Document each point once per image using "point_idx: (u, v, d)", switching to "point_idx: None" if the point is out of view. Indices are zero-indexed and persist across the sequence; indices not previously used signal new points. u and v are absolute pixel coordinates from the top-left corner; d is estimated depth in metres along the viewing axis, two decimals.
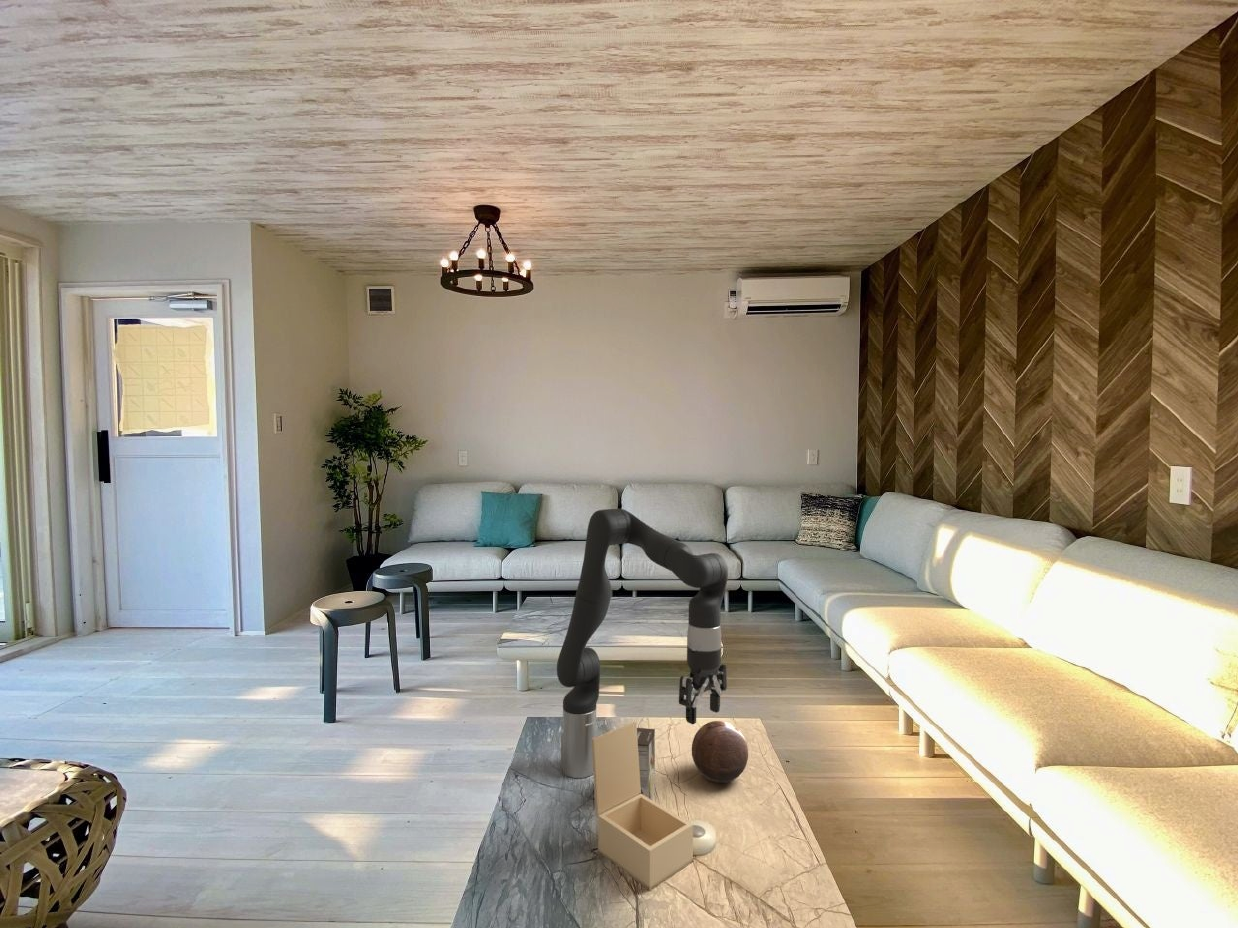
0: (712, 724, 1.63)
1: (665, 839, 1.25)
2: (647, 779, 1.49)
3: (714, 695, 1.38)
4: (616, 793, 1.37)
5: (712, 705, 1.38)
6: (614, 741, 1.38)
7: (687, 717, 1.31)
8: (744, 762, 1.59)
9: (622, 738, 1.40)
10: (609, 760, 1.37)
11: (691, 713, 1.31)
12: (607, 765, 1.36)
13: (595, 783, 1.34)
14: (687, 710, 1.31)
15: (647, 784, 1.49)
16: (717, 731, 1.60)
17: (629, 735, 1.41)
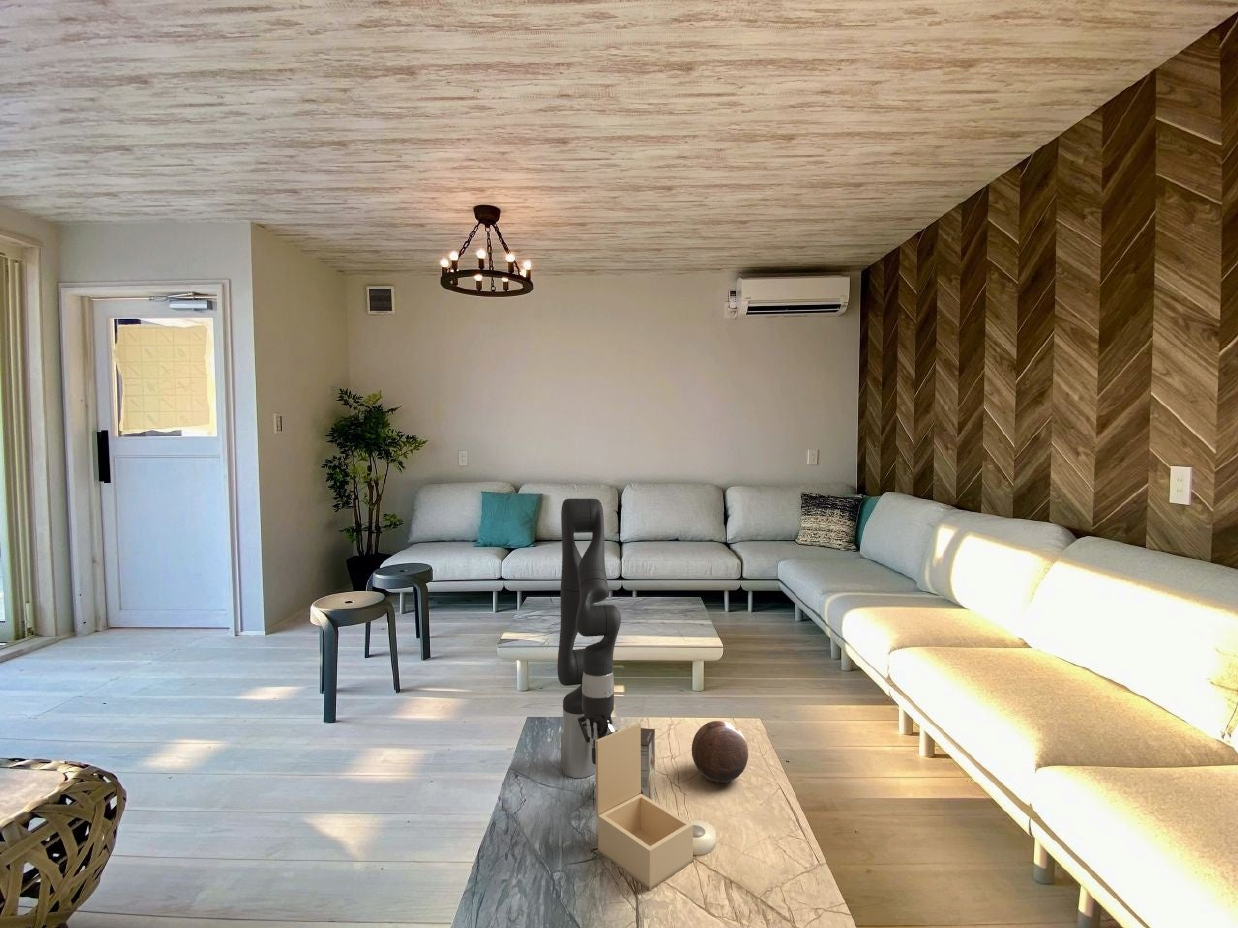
0: (712, 724, 1.63)
1: (665, 839, 1.25)
2: (647, 779, 1.49)
3: None
4: (617, 793, 1.37)
5: None
6: (618, 743, 1.37)
7: None
8: (744, 762, 1.59)
9: (626, 739, 1.39)
10: (612, 761, 1.36)
11: None
12: (609, 766, 1.35)
13: (597, 784, 1.33)
14: None
15: (647, 784, 1.49)
16: (717, 731, 1.60)
17: (633, 736, 1.40)
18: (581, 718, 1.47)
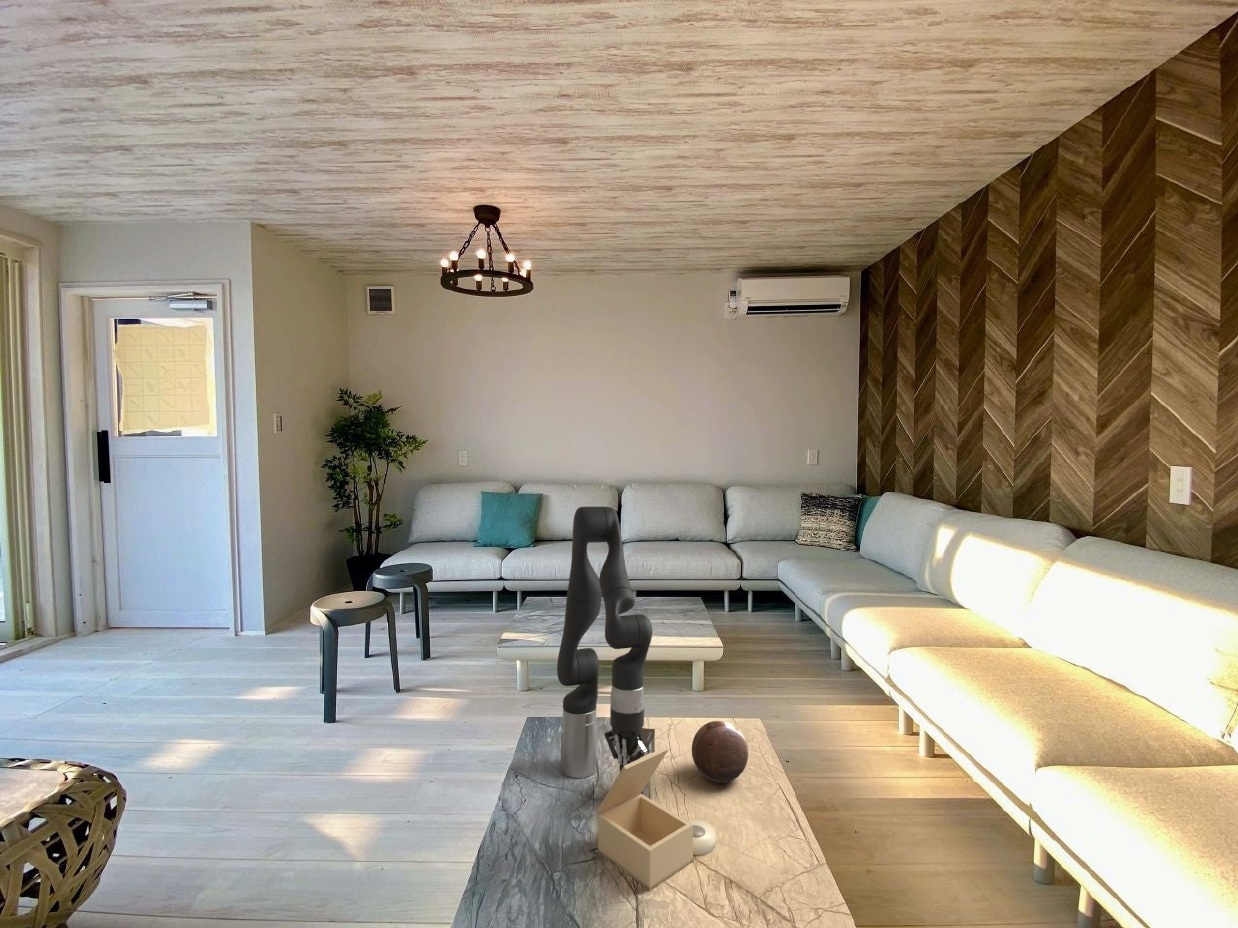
0: (712, 724, 1.63)
1: (665, 839, 1.25)
2: None
3: None
4: (621, 798, 1.36)
5: None
6: (642, 766, 1.31)
7: None
8: (744, 763, 1.59)
9: (650, 762, 1.33)
10: (629, 779, 1.32)
11: None
12: (625, 782, 1.32)
13: (608, 795, 1.31)
14: None
15: (647, 784, 1.49)
16: (717, 731, 1.60)
17: (657, 759, 1.34)
18: (608, 733, 1.39)
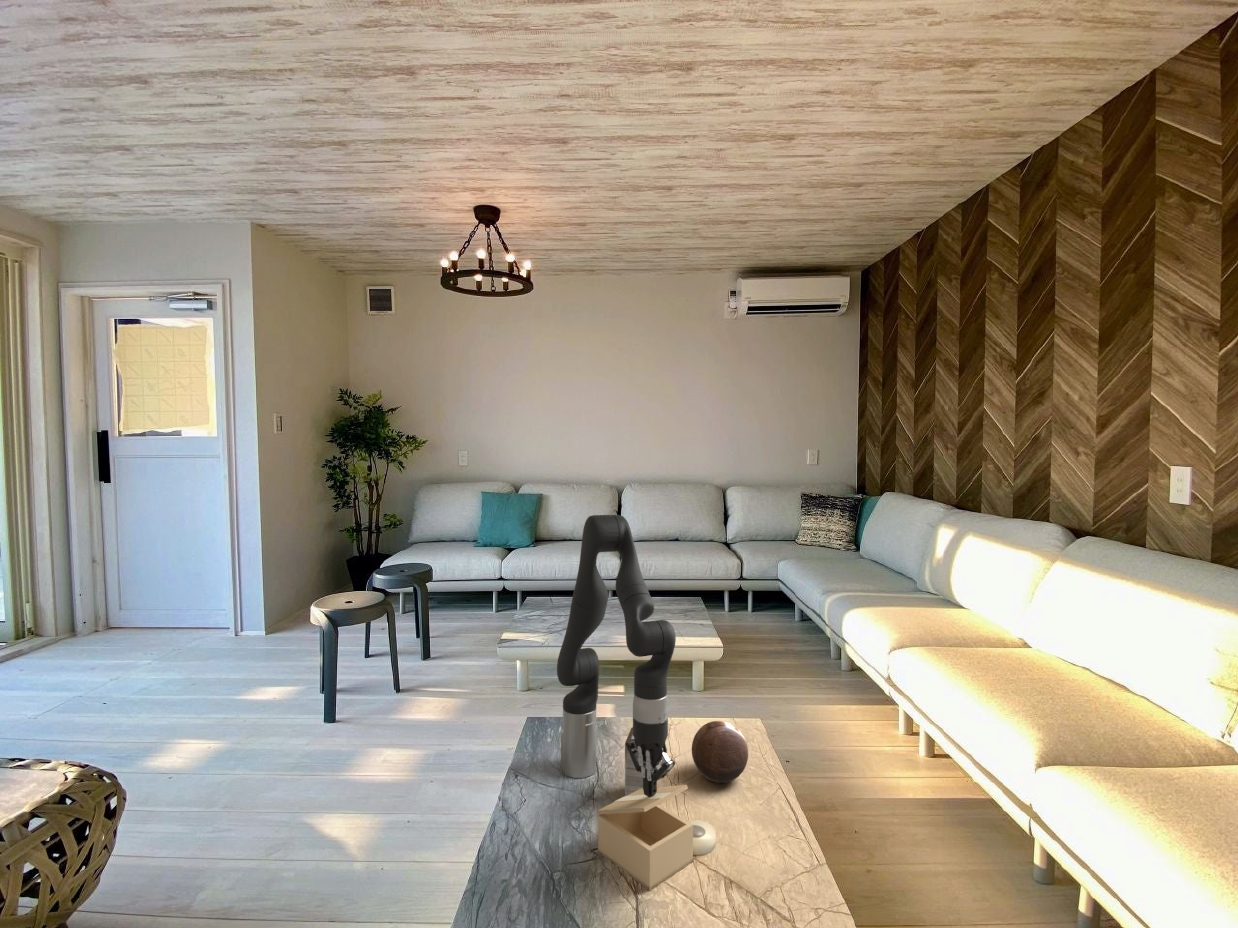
0: (712, 724, 1.63)
1: (665, 839, 1.25)
2: None
3: None
4: None
5: None
6: None
7: (653, 791, 1.29)
8: (744, 763, 1.59)
9: None
10: None
11: None
12: None
13: (615, 811, 1.29)
14: (653, 784, 1.29)
15: None
16: (717, 731, 1.60)
17: None
18: (630, 744, 1.34)
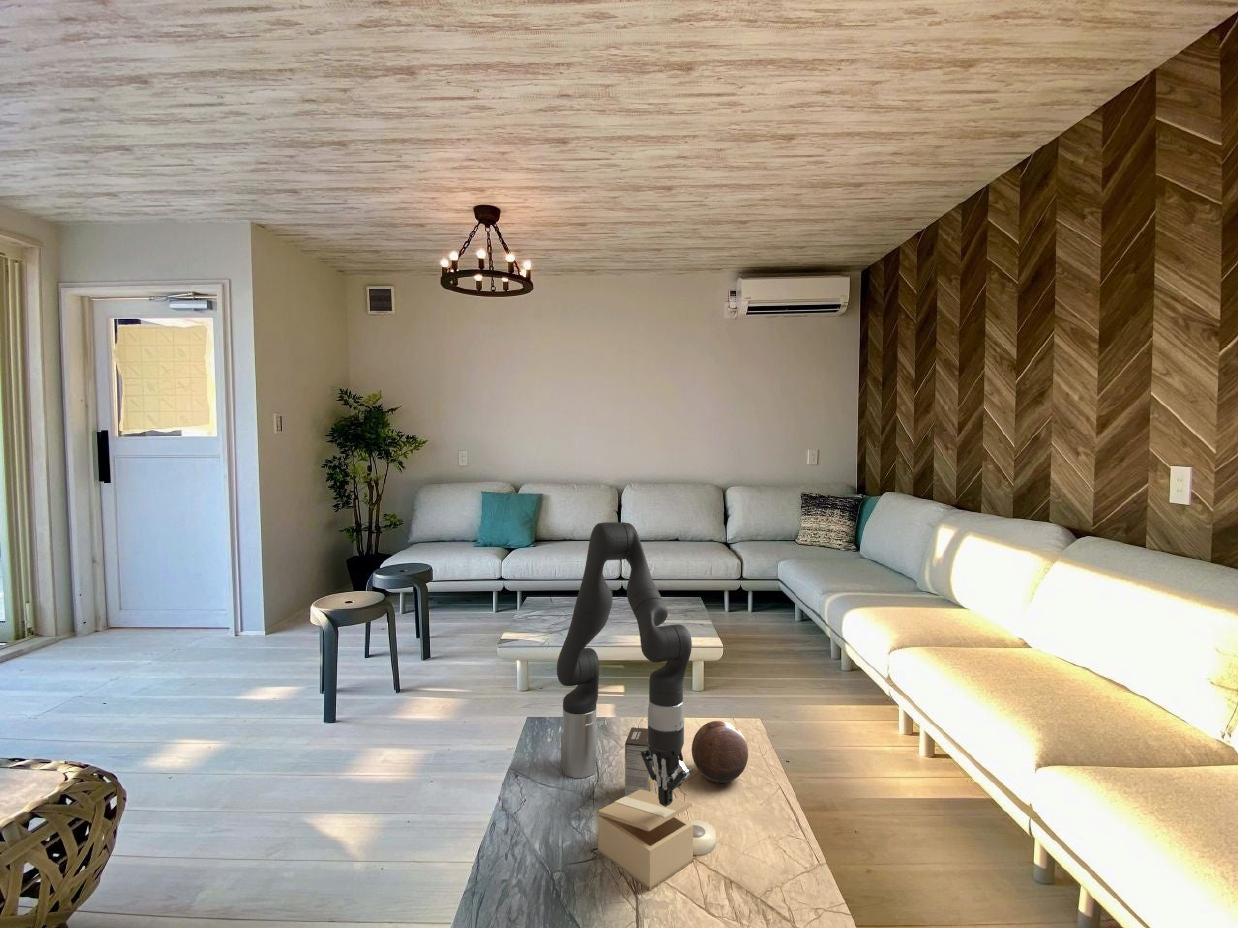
0: (712, 724, 1.63)
1: (665, 839, 1.25)
2: (647, 779, 1.49)
3: None
4: None
5: None
6: None
7: (669, 800, 1.26)
8: (744, 763, 1.59)
9: None
10: None
11: None
12: None
13: (617, 819, 1.28)
14: (669, 793, 1.26)
15: (647, 784, 1.49)
16: (717, 731, 1.60)
17: None
18: (645, 752, 1.30)
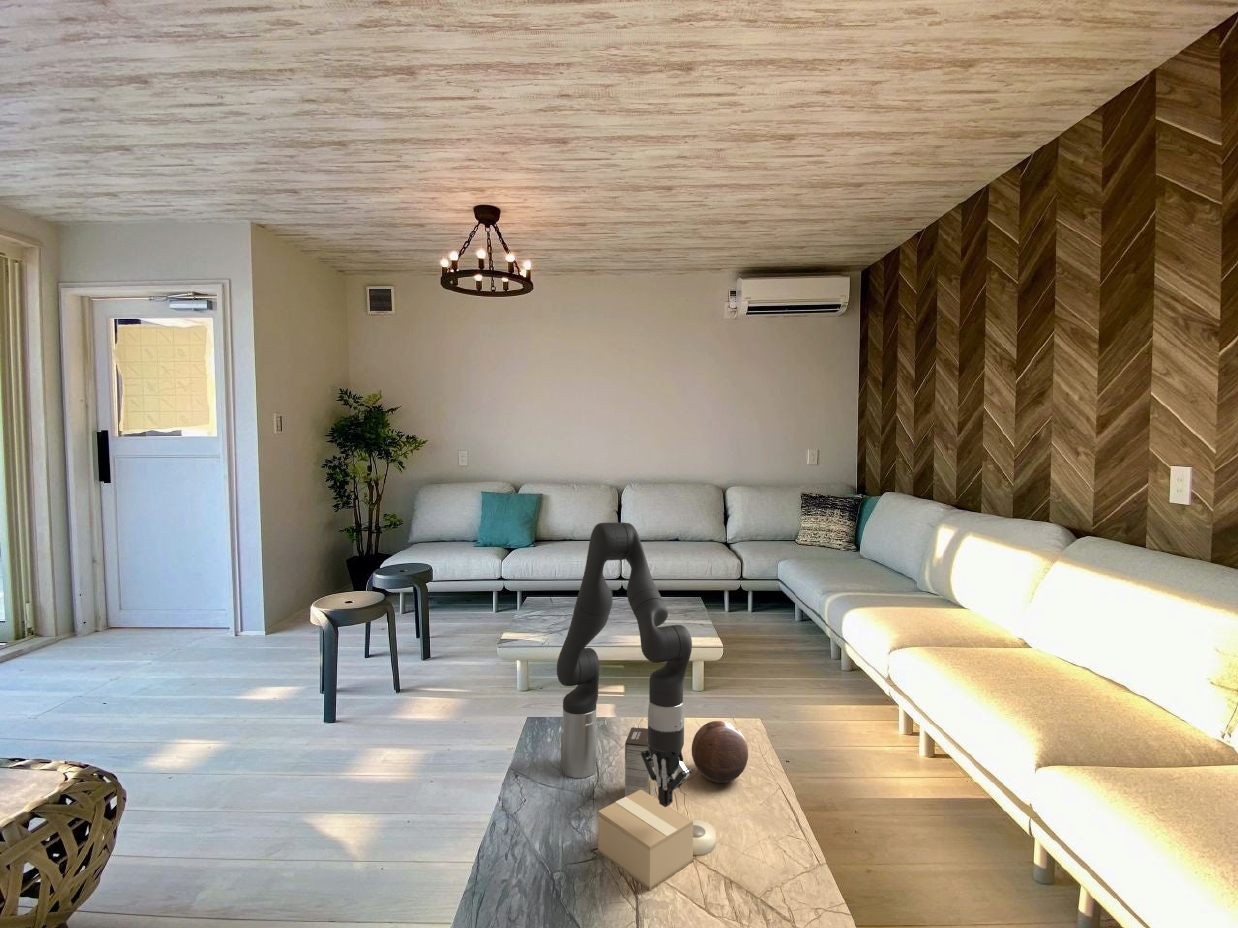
0: (712, 724, 1.63)
1: None
2: (647, 779, 1.49)
3: None
4: None
5: None
6: None
7: (669, 800, 1.26)
8: (744, 763, 1.59)
9: None
10: None
11: None
12: None
13: (618, 826, 1.28)
14: (669, 793, 1.26)
15: (647, 784, 1.49)
16: (717, 731, 1.60)
17: None
18: (645, 752, 1.30)
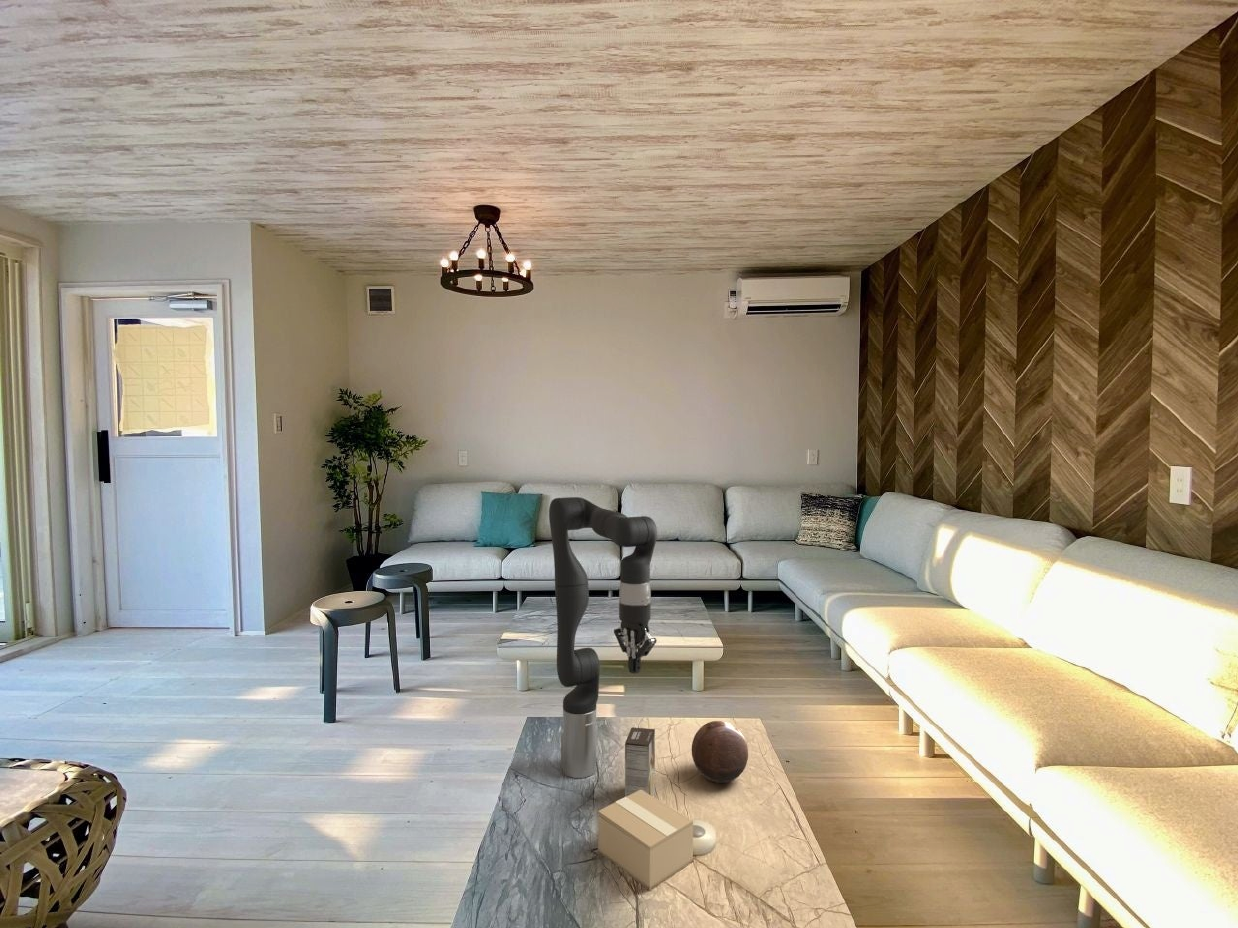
0: (712, 724, 1.63)
1: None
2: (647, 779, 1.49)
3: None
4: None
5: None
6: None
7: (637, 668, 1.44)
8: (744, 763, 1.59)
9: None
10: None
11: None
12: None
13: (618, 826, 1.28)
14: (637, 661, 1.44)
15: (647, 784, 1.49)
16: (717, 731, 1.60)
17: None
18: (617, 629, 1.49)
